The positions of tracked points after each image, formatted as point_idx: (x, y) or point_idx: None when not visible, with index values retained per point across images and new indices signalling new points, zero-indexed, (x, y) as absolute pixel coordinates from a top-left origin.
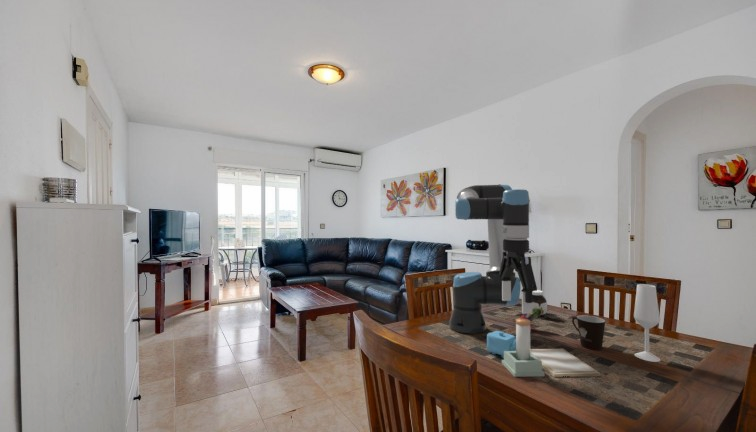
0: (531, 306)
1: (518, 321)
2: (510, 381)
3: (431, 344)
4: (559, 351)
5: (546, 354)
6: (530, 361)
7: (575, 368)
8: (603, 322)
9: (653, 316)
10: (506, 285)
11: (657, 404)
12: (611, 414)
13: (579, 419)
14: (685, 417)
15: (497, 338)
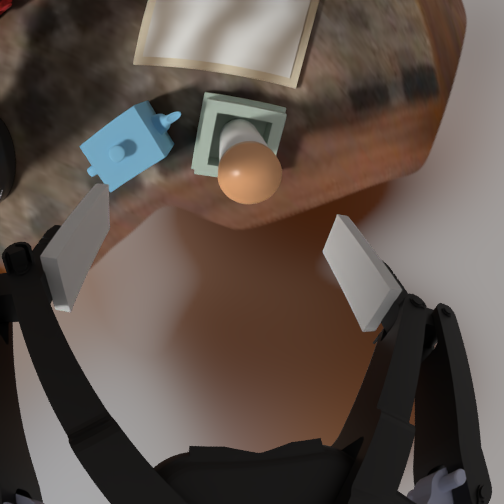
0: (361, 237)
1: (257, 202)
2: (281, 198)
3: None
4: None
5: (186, 23)
6: (276, 143)
7: (288, 16)
8: None
9: None
10: (76, 268)
11: (424, 15)
12: (421, 114)
13: (410, 172)
14: (452, 25)
15: (140, 172)
